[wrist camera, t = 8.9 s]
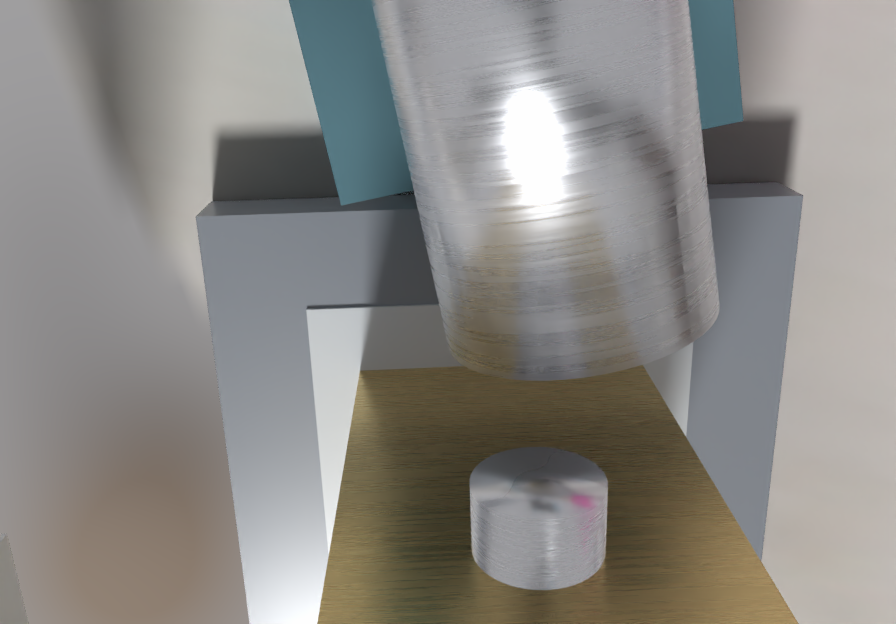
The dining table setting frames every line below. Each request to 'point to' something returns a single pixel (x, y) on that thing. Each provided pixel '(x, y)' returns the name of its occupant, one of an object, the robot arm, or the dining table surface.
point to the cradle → (440, 360)
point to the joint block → (532, 508)
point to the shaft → (538, 163)
